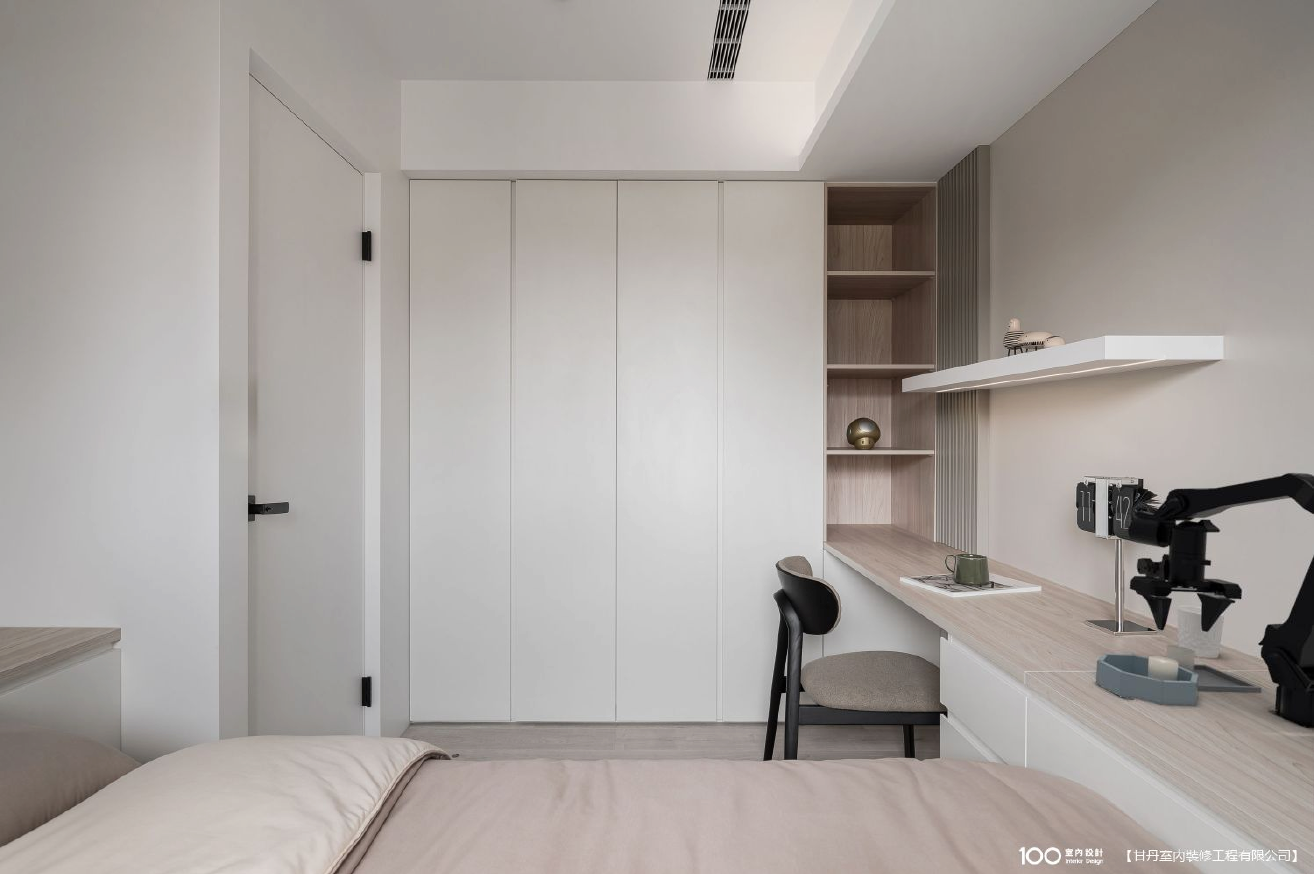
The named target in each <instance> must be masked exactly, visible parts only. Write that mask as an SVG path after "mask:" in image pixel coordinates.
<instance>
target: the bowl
mask: <svg viewBox="0 0 1314 874" xmlns="http://www.w3.org/2000/svg"><path fill="white" fill-rule="evenodd" d="M1148 662H1149V656H1148V657H1146V656H1142V655H1138V654H1133V653H1110V652H1109V653H1104V652H1102V654H1101V655H1100V656H1099V658H1098V659H1097V660H1096V670H1095V671H1096V674H1095V675H1096V676H1095V684H1096V683H1097V684H1098V685H1097V684H1096V685H1097V686H1099V685H1100V686H1099V687H1101V686H1103V687H1104V688H1106V689H1108V690H1110V691H1111V692H1110V691H1109V692H1110V693H1112V692H1113V693H1116V694H1117V695H1119V696H1121V697H1120V698H1122V697H1124V698H1123V699H1126V698H1127V700H1130V699H1131V700H1130V701H1134V700H1135V699H1139V700H1143V701H1147V702H1150V703H1154V704H1158V705H1164V706H1165V705H1168V706H1171V705H1172V706H1173V705H1174V706H1196V703H1197V702H1196V701H1197V698H1198V695H1199V694H1198V693H1199V691H1198V680H1199V674H1196V673H1194V672H1192V671H1189V670H1187V669H1185V668H1182V667H1180V666H1178V679H1177V681H1168V680H1158V679H1153V678H1149V677H1148ZM1103 687H1102V688H1103ZM1104 688H1103V689H1104ZM1106 689H1105V690H1106ZM1108 690H1107V691H1108ZM1113 693H1112V694H1113ZM1117 695H1116V696H1117ZM1119 696H1118V697H1119Z"/></svg>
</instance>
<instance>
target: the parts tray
mask: <svg viewBox="0 0 1314 874" xmlns="http://www.w3.org/2000/svg"><path fill="white" fill-rule="evenodd" d="M1194 673H1196V674H1199V680H1198V692H1216V693H1218V692H1220V693H1224V692H1225V693H1253V694H1254V693H1255V694H1256V693H1259V694H1261V693H1262V687H1260V686H1258V685H1256V684H1253V683H1251V682H1248V681H1246V680H1243V679H1241V678H1238V677H1236V676H1234V675H1231V674H1229V673H1227V672H1224V671H1221V670H1219V669H1217V668H1214V667H1212V666H1210V665H1207V664H1199V663H1198V664H1197V663H1194Z"/></svg>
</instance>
